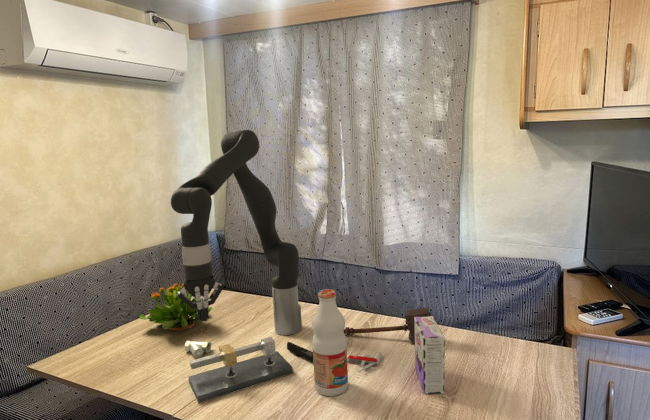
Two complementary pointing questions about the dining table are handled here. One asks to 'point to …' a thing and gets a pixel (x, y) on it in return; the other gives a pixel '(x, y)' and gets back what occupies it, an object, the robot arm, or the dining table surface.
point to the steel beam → (238, 353)
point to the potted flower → (173, 310)
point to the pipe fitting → (197, 347)
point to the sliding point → (228, 356)
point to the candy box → (429, 354)
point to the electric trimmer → (300, 351)
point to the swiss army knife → (364, 360)
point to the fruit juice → (329, 346)
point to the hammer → (408, 326)
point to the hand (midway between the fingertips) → (203, 320)
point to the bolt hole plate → (238, 376)
